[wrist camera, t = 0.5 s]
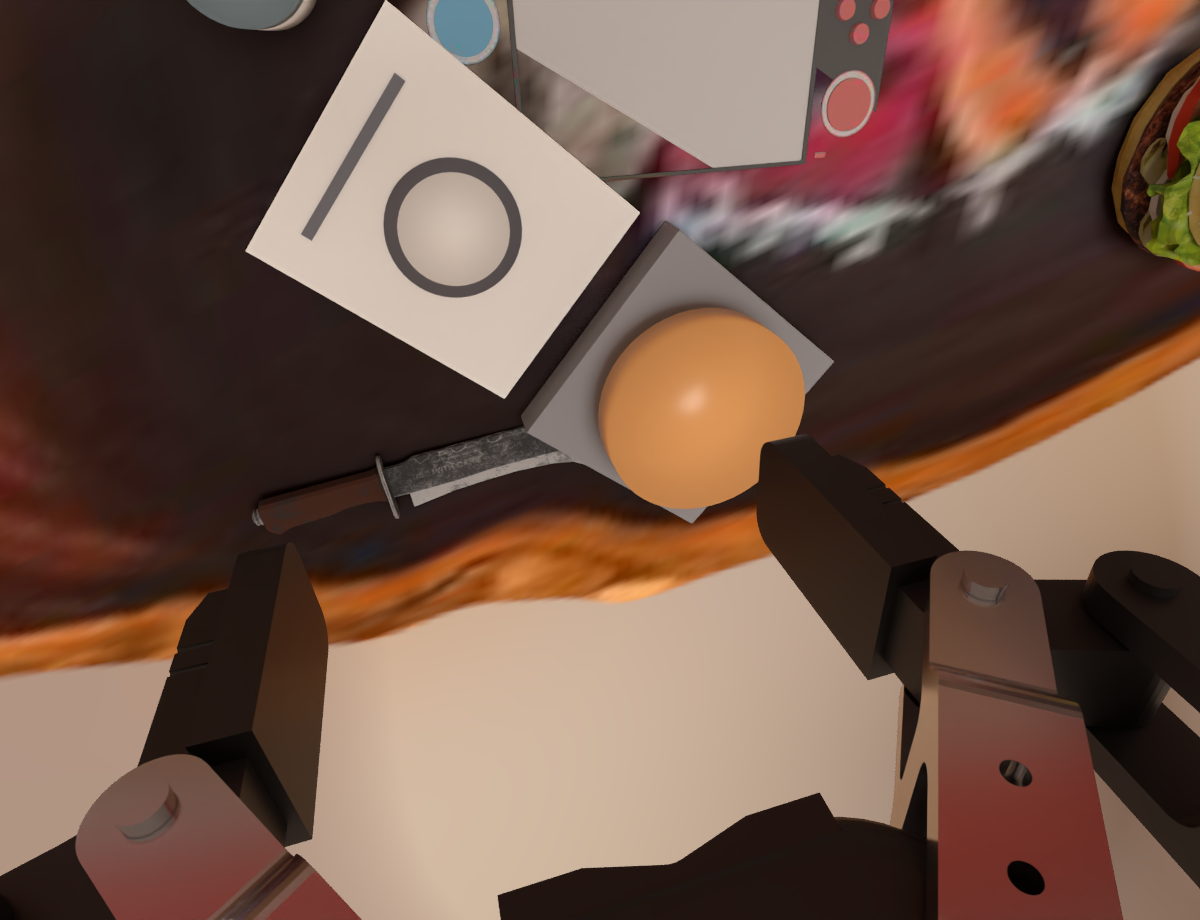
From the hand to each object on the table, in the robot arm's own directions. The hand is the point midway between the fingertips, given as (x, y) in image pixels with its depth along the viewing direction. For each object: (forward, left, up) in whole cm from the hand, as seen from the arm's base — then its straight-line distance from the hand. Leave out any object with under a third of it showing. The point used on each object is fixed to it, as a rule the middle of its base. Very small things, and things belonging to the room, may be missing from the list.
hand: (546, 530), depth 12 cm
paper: (0, +1, -25) cm, 25 cm away
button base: (0, +16, -25) cm, 30 cm away
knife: (+10, +10, -26) cm, 29 cm away
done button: (0, +16, -22) cm, 27 cm away
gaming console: (-12, +5, -26) cm, 29 cm away
